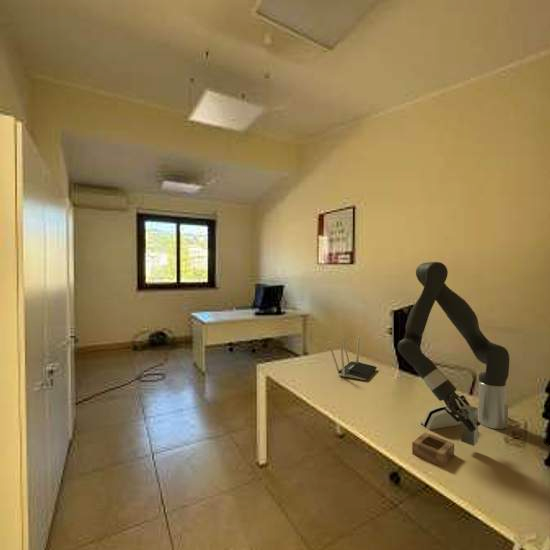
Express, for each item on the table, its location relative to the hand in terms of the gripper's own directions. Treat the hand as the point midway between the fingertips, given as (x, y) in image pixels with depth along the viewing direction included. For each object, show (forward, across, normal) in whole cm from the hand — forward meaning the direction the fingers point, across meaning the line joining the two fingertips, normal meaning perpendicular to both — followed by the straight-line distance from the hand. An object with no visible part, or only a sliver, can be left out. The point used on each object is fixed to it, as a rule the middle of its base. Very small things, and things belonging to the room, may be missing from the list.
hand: (475, 427), depth 110 cm
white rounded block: (-4, +12, +18) cm, 22 cm away
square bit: (+3, 0, +5) cm, 6 cm away
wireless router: (-49, +40, +62) cm, 89 cm away
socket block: (-1, -11, +13) cm, 17 cm away
